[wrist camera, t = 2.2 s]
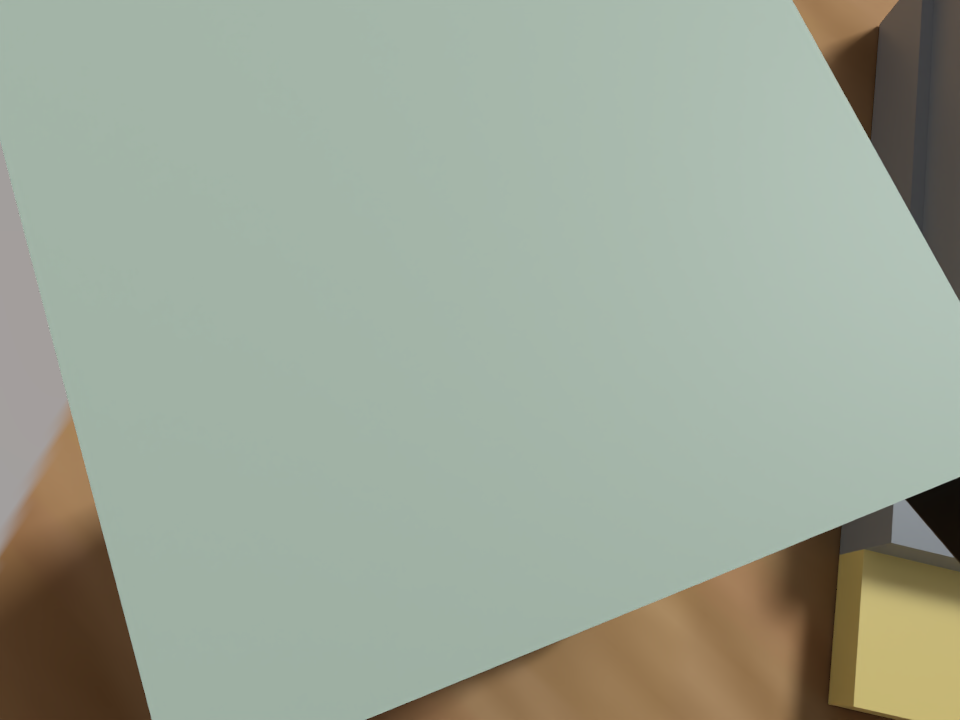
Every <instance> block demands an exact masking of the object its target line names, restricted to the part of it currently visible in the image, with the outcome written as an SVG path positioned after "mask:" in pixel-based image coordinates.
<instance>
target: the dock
mask: <svg viewBox="0 0 960 720" xmlns="http://www.w3.org/2000/svg"><path fill="white" fill-rule="evenodd" d="M871 143H872V145H873V147H874V149H875V150H876V152H877V154H878V156H879V158H880V159H881V161H882V163H883V165H884V167H885V168H886V170H887V172H888V174H889V175H890V177H891V179H892V181H893V183H894V184H895V186H896V188H897V190H898V192H899V193H900V195H901V197H902V199H903V201H904V202H905V204H906V206H907V208H908V210H909V211H910V213H911V215H912V217H913V219H914V220H915V222H916V224H917V226H918V228H919V229H920V231H921V233H922V235H923V237H924V238H925V240H926V242H927V244H928V246H929V247H930V249H931V251H932V253H933V255H934V256H935V258H936V260H937V262H938V264H939V265H940V267H941V269H942V271H943V273H944V274H945V276H946V278H947V280H948V282H949V283H950V285H951V287H952V289H953V291H954V292H955V294H956V296H957V298H958V300H959V301H960V0H899V1H898V2H897V3H896V5H895V6H894V7H893V8H892V10H891V11H890V12H889V13H888V15H887V16H886V17H885V18H884V20H883V21H882V22H881V23H880V27H879V40H878V53H877V66H876V79H875V93H874V106H873V119H872V132H871ZM828 704H829V705H834V706H838V707H842V708H847V709H851V710H855V711H860V712H864V713H868V714H873V715H877V716H882V717H886V718H890V719H895V720H960V563H959V562H958V561H957V560H956V559H955V558H954V556H953V555H952V554H951V553H950V552H949V550H948V549H947V548H946V547H945V546H944V545H943V543H942V542H941V541H940V540H939V539H938V538H937V536H936V535H935V534H934V533H933V532H932V531H931V529H930V528H929V527H928V526H927V525H926V523H925V522H924V521H923V520H922V519H921V518H920V516H919V515H918V514H917V513H916V512H915V511H914V509H913V508H912V507H911V506H910V505H909V504H908V502H907V501H906V500H902V501H900V502H897V503H895V504H892V505H890V506H887V507H885V508H883V509H880V510H878V511H875V512H873V513H870V514H868V515H865V516H863V517H861V518H858V519H856V520H853V521H851V522H848V523H846V524H843V525H842V528H841V541H840V555H839V568H838V581H837V594H836V607H835V621H834V634H833V647H832V660H831V673H830V687H829V700H828Z"/></svg>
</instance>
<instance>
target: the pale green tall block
mask: <svg viewBox="0 0 960 720" xmlns="http://www.w3.org/2000/svg"><path fill="white" fill-rule="evenodd" d="M0 142H1V146H2V150H3V154H4V157H5V161H6V165H7V169H8V173H9V177H10V180H11V184H12V188H13V192H14V196H15V199H16V203H17V207H18V210H19V215H20V219H21V222H22V226H23V230H24V234H25V237H26V241H27V245H28V249H29V253H30V256H31V261H32V264H33V268H34V272H35V276H36V280H37V283H38V287H39V291H40V295H41V299H42V303H43V306H44V310H45V314H46V318H47V321H48V325H49V329H50V333H51V337H52V341H53V345H54V348H55V352H56V356H57V360H58V363H59V367H60V371H61V375H62V378H63V383H64V386H65V390H66V393H67V398H68V402H69V406H70V409H71V413H72V417H73V421H74V425H75V428H76V432H77V436H78V440H79V444H80V448H81V451H82V455H83V459H84V463H85V467H86V470H87V474H88V478H89V482H90V486H91V490H92V493H93V497H94V501H95V505H96V509H97V512H98V516H99V520H100V524H101V528H102V532H103V535H104V539H105V543H106V547H107V551H108V554H109V558H110V562H111V566H112V570H113V574H114V577H115V581H116V585H117V589H118V593H119V596H120V600H121V604H122V608H123V612H124V616H125V619H126V623H127V627H128V631H129V635H130V638H131V642H132V646H133V650H134V654H135V658H136V661H137V665H138V669H139V673H140V677H141V680H142V684H143V688H144V692H145V696H146V700H147V703H148V707H149V711H150V715H151V719H152V720H366V719H369V718H371V717H374V716H376V715H378V714H381V713H383V712H386V711H388V710H391V709H393V708H396V707H398V706H400V705H403V704H405V703H408V702H410V701H413V700H415V699H418V698H420V697H423V696H425V695H427V694H430V693H432V692H435V691H437V690H440V689H442V688H445V687H447V686H449V685H452V684H454V683H457V682H459V681H462V680H464V679H467V678H469V677H471V676H474V675H476V674H479V673H481V672H484V671H486V670H489V669H491V668H493V667H496V666H498V665H501V664H503V663H506V662H508V661H511V660H513V659H515V658H518V657H520V656H523V655H525V654H528V653H530V652H533V651H535V650H538V649H540V648H542V647H545V646H547V645H550V644H552V643H555V642H557V641H560V640H562V639H564V638H567V637H569V636H572V635H574V634H577V633H579V632H582V631H584V630H586V629H589V628H591V627H594V626H596V625H599V624H601V623H604V622H606V621H608V620H611V619H613V618H616V617H618V616H621V615H623V614H626V613H628V612H631V611H633V610H635V609H638V608H640V607H643V606H645V605H648V604H650V603H653V602H655V601H657V600H660V599H662V598H665V597H667V596H670V595H672V594H675V593H677V592H679V591H682V590H684V589H687V588H689V587H692V586H694V585H697V584H699V583H701V582H704V581H706V580H709V579H711V578H714V577H716V576H719V575H721V574H723V573H726V572H728V571H731V570H733V569H736V568H738V567H741V566H743V565H746V564H748V563H750V562H753V561H755V560H758V559H760V558H763V557H765V556H768V555H770V554H772V553H775V552H777V551H780V550H782V549H785V548H787V547H790V546H792V545H794V544H797V543H799V542H802V541H804V540H807V539H809V538H812V537H814V536H816V535H819V534H821V533H824V532H826V531H829V530H831V529H834V528H836V527H839V526H841V525H843V524H846V523H848V522H851V521H853V520H856V519H858V518H861V517H863V516H865V515H868V514H870V513H873V512H875V511H878V510H880V509H883V508H885V507H887V506H890V505H892V504H895V503H897V502H900V501H902V500H905V499H907V498H909V497H912V496H914V495H917V494H919V493H922V492H924V491H927V490H929V489H932V488H934V487H936V486H939V485H941V484H944V483H946V482H949V481H951V480H954V479H956V478H958V477H960V301H959V300H958V298H957V296H956V294H955V292H954V291H953V289H952V287H951V285H950V283H949V282H948V280H947V278H946V276H945V274H944V273H943V271H942V269H941V267H940V265H939V264H938V262H937V260H936V258H935V256H934V255H933V253H932V251H931V249H930V247H929V246H928V244H927V242H926V240H925V238H924V237H923V235H922V233H921V231H920V229H919V228H918V226H917V224H916V222H915V220H914V219H913V217H912V215H911V213H910V211H909V210H908V208H907V206H906V204H905V202H904V201H903V199H902V197H901V195H900V193H899V192H898V190H897V188H896V186H895V184H894V183H893V181H892V179H891V177H890V175H889V174H888V172H887V170H886V168H885V167H884V165H883V163H882V161H881V159H880V158H879V156H878V154H877V152H876V150H875V149H874V147H873V145H872V143H871V141H870V140H869V138H868V136H867V134H866V132H865V131H864V129H863V127H862V125H861V123H860V122H859V120H858V118H857V116H856V114H855V113H854V111H853V109H852V107H851V105H850V104H849V102H848V100H847V98H846V96H845V95H844V93H843V91H842V89H841V87H840V86H839V84H838V82H837V80H836V78H835V77H834V75H833V73H832V71H831V69H830V68H829V66H828V64H827V62H826V60H825V59H824V57H823V55H822V53H821V51H820V50H819V48H818V46H817V44H816V42H815V41H814V39H813V37H812V35H811V33H810V32H809V30H808V28H807V26H806V24H805V23H804V21H803V19H802V17H801V15H800V14H799V12H798V10H797V8H796V6H795V5H794V3H793V1H792V0H0Z"/></svg>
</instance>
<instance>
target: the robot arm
mask: <svg viewBox="0 0 960 720" xmlns="http://www.w3.org/2000/svg"><path fill="white" fill-rule="evenodd" d="M905 500H906V501H907V502H908V504H909V505H910V506H911V507H912V508H913V509H914V511H915V512H916V513H917V514H918V515H919V516H920V518H921V519H922V520H923V521H924V522H925V523H926V525H927V526H928V527H929V528H930V529H931V531H932V532H933V533H934V534H935V535H936V536H937V538H938V539H939V540H940V541H941V542H942V543H943V545H944V546H945V547H946V548H947V549H948V550H949V552H950V553H951V554H952V555H953V556H954V558H955V559H956V560H957V561H958V562H959V563H960V477H958V478H956V479H954V480H951V481H949V482H946V483H944V484H941V485H939V486H936V487H934V488H932V489H929V490H927V491H924V492H922V493H919V494H917V495H914V496H912V497H909V498H907V499H905Z"/></svg>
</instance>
